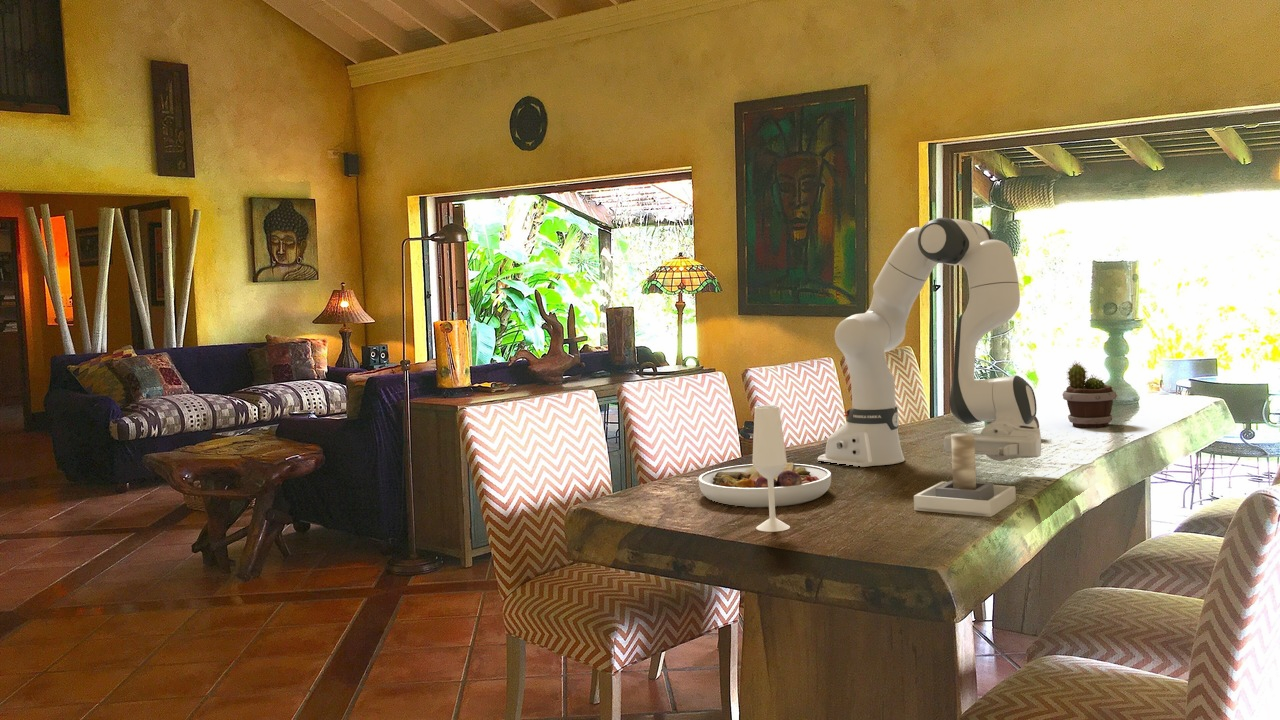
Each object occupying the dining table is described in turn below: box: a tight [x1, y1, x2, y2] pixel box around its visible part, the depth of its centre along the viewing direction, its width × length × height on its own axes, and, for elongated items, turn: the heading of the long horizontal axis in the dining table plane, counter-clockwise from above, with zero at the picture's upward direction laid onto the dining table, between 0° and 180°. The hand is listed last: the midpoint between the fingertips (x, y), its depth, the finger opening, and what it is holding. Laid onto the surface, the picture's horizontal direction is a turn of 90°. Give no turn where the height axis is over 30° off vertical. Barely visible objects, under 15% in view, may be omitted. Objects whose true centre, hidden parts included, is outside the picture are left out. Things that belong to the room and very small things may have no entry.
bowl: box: [698, 461, 832, 508], centre depth 227 cm, size 30×30×8 cm
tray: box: [913, 479, 1017, 518], centre depth 205 cm, size 16×16×4 cm
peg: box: [950, 433, 977, 490], centre depth 205 cm, size 4×4×14 cm
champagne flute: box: [751, 404, 791, 533], centre depth 196 cm, size 7×7×24 cm
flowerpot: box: [1061, 361, 1118, 429], centre depth 297 cm, size 14×15×20 cm
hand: (980, 450), depth 213 cm, fingers open, 8 cm apart
